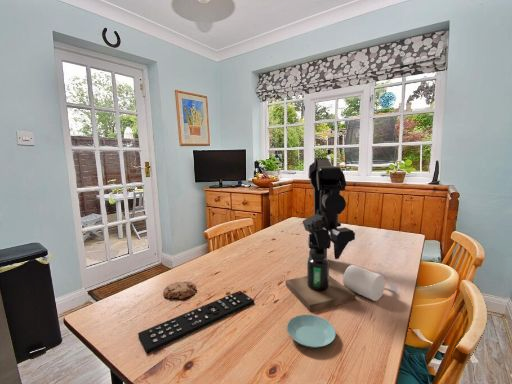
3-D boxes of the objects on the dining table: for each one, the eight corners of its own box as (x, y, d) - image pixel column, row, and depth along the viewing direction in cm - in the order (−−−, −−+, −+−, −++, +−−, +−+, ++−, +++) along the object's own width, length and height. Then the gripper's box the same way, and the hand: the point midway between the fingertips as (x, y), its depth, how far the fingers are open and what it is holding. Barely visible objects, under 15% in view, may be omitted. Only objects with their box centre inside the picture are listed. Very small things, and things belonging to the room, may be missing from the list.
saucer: (326, 320, 70) (326, 313, 70) (342, 353, 59) (343, 344, 58) (283, 323, 70) (283, 315, 70) (291, 356, 58) (291, 347, 58)
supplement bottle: (320, 294, 80) (320, 257, 78) (302, 285, 85) (303, 251, 83) (332, 286, 84) (333, 251, 82) (315, 279, 89) (316, 246, 87)
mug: (371, 305, 77) (372, 280, 76) (342, 291, 85) (342, 268, 84) (390, 291, 84) (392, 268, 83) (362, 280, 92) (363, 259, 91)
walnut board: (325, 277, 94) (325, 272, 94) (355, 300, 79) (355, 294, 79) (285, 285, 89) (285, 280, 89) (309, 311, 74) (309, 305, 74)
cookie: (162, 290, 89) (161, 281, 89) (193, 283, 93) (192, 275, 93) (164, 304, 80) (163, 295, 80) (198, 296, 84) (198, 288, 84)
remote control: (255, 304, 79) (254, 298, 79) (147, 356, 60) (146, 348, 60) (240, 294, 85) (240, 288, 85) (138, 338, 66) (137, 331, 66)
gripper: (292, 203, 88) (293, 247, 90) (323, 215, 70) (322, 269, 73) (321, 201, 91) (320, 243, 93) (357, 211, 74) (355, 263, 76)
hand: (328, 253), depth 84 cm, fingers open, 9 cm apart
